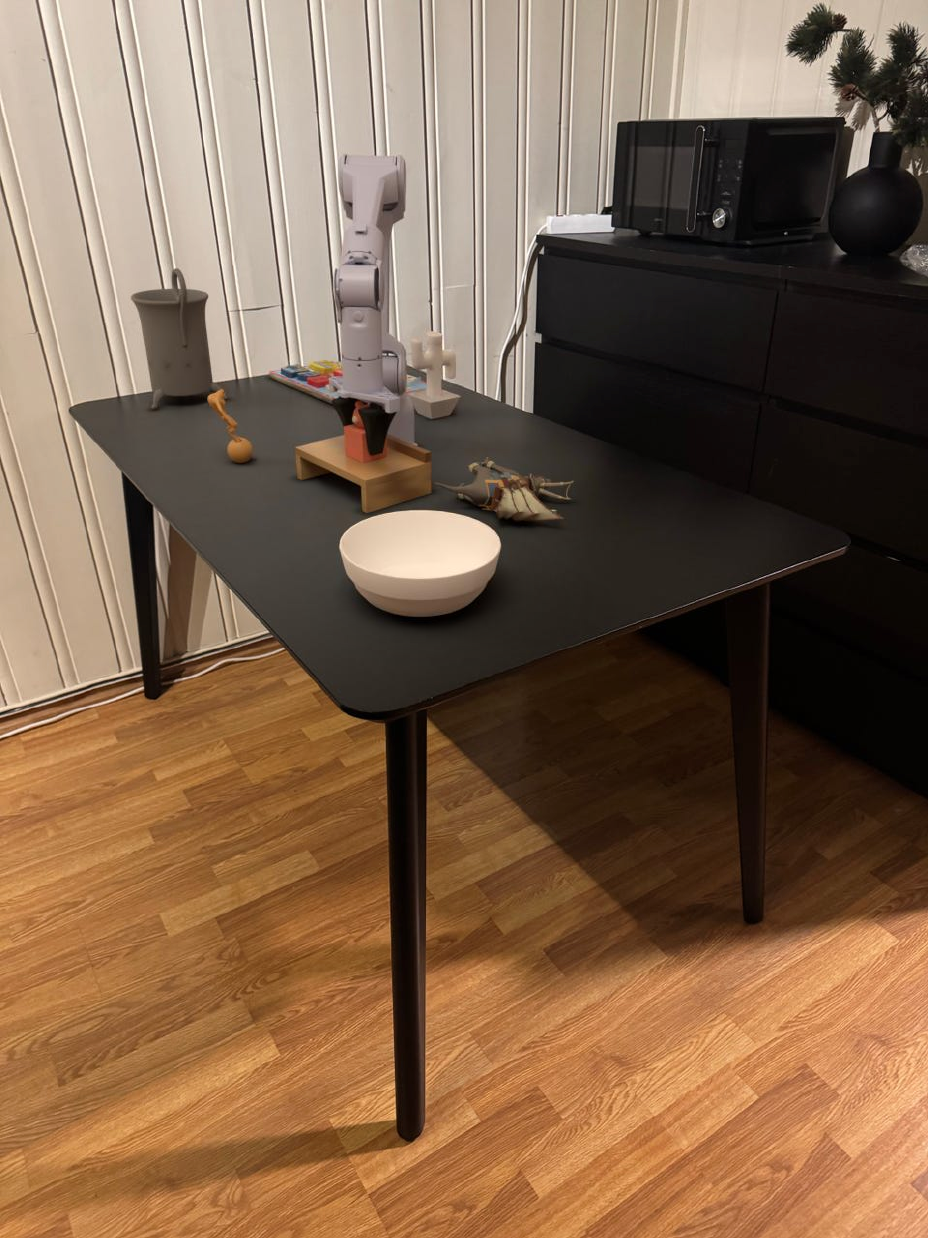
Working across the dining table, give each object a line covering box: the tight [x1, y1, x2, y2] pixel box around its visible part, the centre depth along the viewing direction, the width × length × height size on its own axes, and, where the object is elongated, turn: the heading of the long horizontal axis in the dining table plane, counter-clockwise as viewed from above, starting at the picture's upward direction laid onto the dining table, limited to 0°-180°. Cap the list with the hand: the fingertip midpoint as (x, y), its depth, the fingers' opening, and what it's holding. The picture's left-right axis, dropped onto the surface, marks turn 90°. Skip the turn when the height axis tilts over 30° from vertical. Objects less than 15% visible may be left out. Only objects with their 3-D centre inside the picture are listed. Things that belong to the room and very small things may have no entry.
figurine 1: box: [207, 388, 254, 464], centre depth 136 cm, size 8×6×12 cm
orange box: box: [343, 401, 387, 463], centre depth 127 cm, size 4×4×8 cm
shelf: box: [294, 434, 432, 514], centre depth 130 cm, size 12×18×6 cm, turn 42°
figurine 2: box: [407, 330, 462, 420], centre depth 160 cm, size 7×9×15 cm
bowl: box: [338, 509, 502, 618], centre depth 100 cm, size 18×18×7 cm
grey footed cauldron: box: [130, 267, 229, 410], centre depth 163 cm, size 19×15×25 cm
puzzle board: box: [268, 359, 427, 405], centre depth 180 cm, size 30×23×3 cm
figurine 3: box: [433, 456, 574, 523], centre depth 122 cm, size 20×6×17 cm
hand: (365, 449), depth 128 cm, fingers closed on orange box, 4 cm apart
